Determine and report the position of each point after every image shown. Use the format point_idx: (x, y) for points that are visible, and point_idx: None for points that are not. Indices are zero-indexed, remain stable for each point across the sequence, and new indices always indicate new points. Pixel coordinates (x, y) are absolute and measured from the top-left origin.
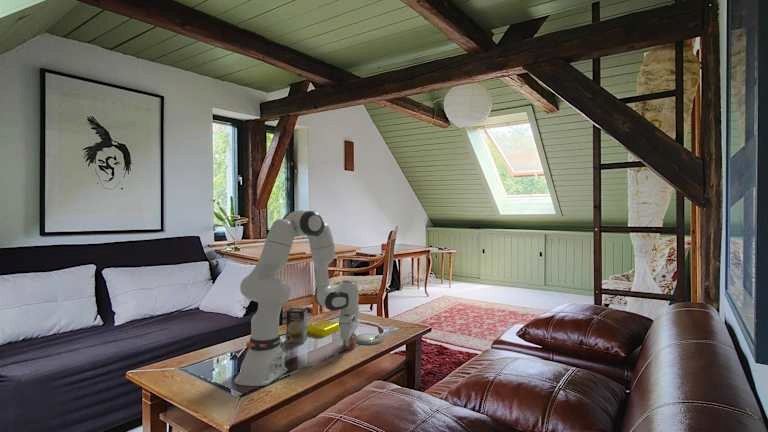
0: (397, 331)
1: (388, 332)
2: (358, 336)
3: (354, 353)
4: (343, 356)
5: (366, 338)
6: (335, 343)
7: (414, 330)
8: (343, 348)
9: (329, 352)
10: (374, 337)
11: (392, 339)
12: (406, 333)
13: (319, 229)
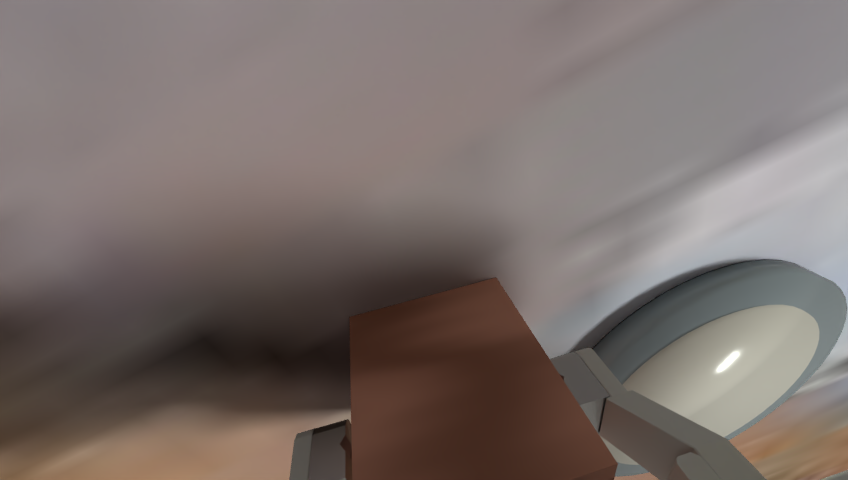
0: (843, 420)
1: (844, 393)
2: (777, 296)
3: (280, 461)
4: (102, 442)
5: (685, 394)
6: (555, 81)
7: (827, 466)
8: (351, 325)
9: (53, 218)
10: (706, 424)
11: None
12: (786, 465)
13: None
